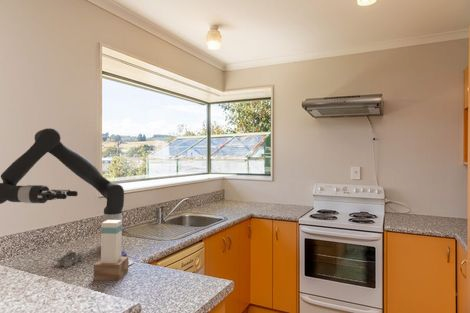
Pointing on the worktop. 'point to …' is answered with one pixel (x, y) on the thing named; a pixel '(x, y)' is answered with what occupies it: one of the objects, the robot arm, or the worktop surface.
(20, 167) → the robot arm
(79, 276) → the worktop surface
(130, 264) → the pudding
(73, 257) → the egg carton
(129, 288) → the worktop surface
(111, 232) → the milk carton
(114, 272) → the brown square block
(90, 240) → the worktop surface
